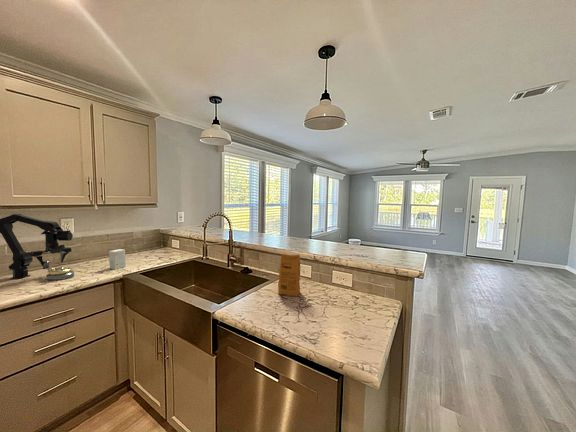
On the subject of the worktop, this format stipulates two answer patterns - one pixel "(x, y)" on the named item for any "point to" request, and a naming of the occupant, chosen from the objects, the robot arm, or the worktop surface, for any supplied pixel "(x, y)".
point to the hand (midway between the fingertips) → (52, 264)
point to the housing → (59, 277)
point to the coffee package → (289, 275)
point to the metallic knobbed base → (56, 269)
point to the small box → (117, 259)
